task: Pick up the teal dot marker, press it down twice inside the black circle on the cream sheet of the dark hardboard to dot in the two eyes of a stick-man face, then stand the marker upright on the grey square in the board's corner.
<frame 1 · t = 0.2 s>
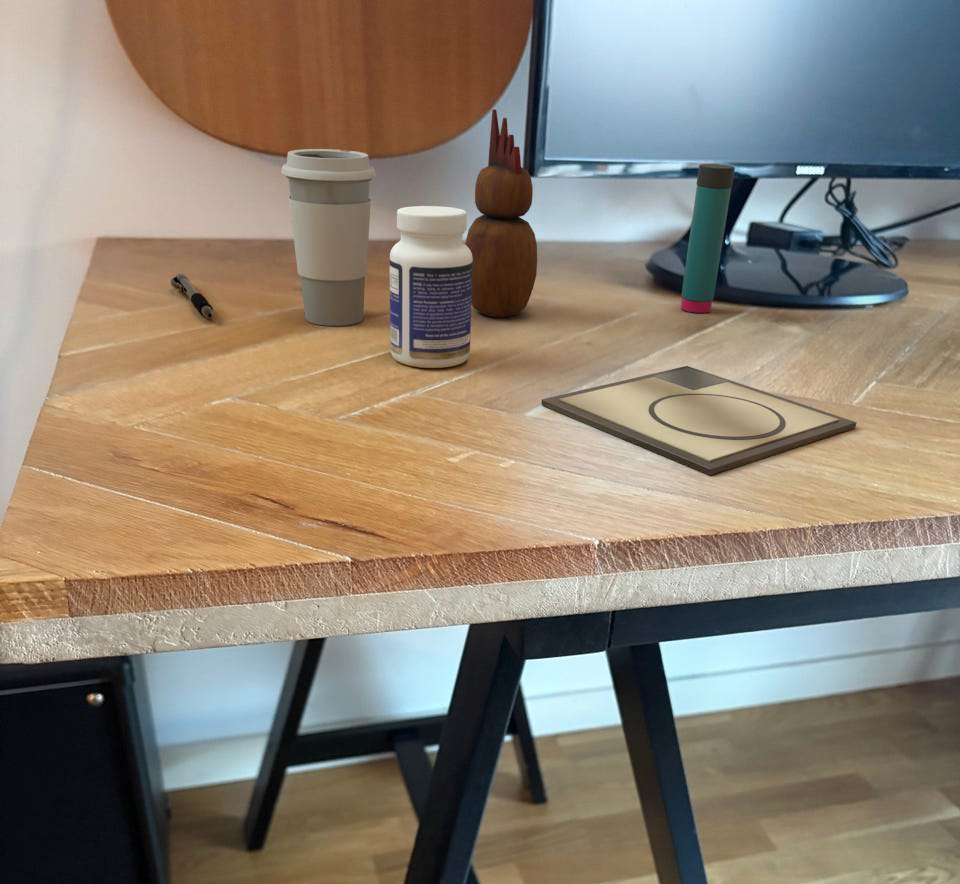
dot marker: (695, 309, 87), on the table
pen: (191, 304, 82), on the table
cup: (334, 321, 80), on the table
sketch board: (696, 416, 63), on the table
wooden figurine: (497, 314, 84), on the table
pill bottle: (430, 361, 72), on the table
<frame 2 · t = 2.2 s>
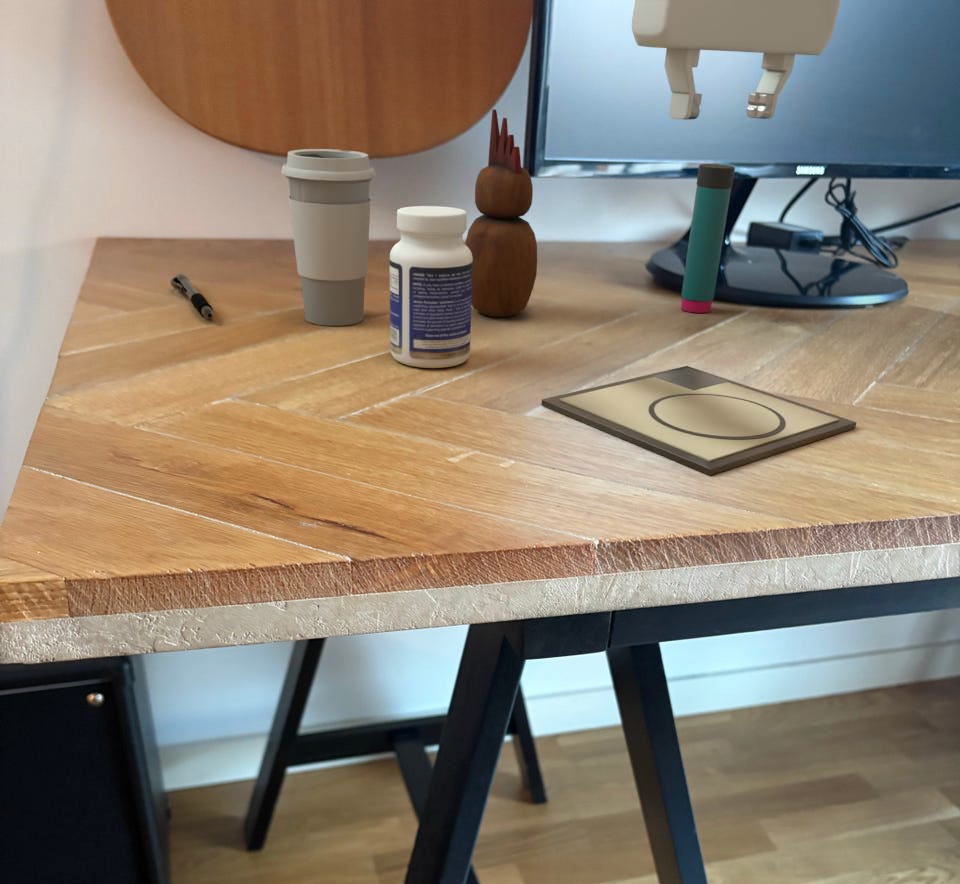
hand: (722, 118, 79), 15 cm above the table, tool pointing down, fingers open, 8 cm apart
nothing on the table moved.
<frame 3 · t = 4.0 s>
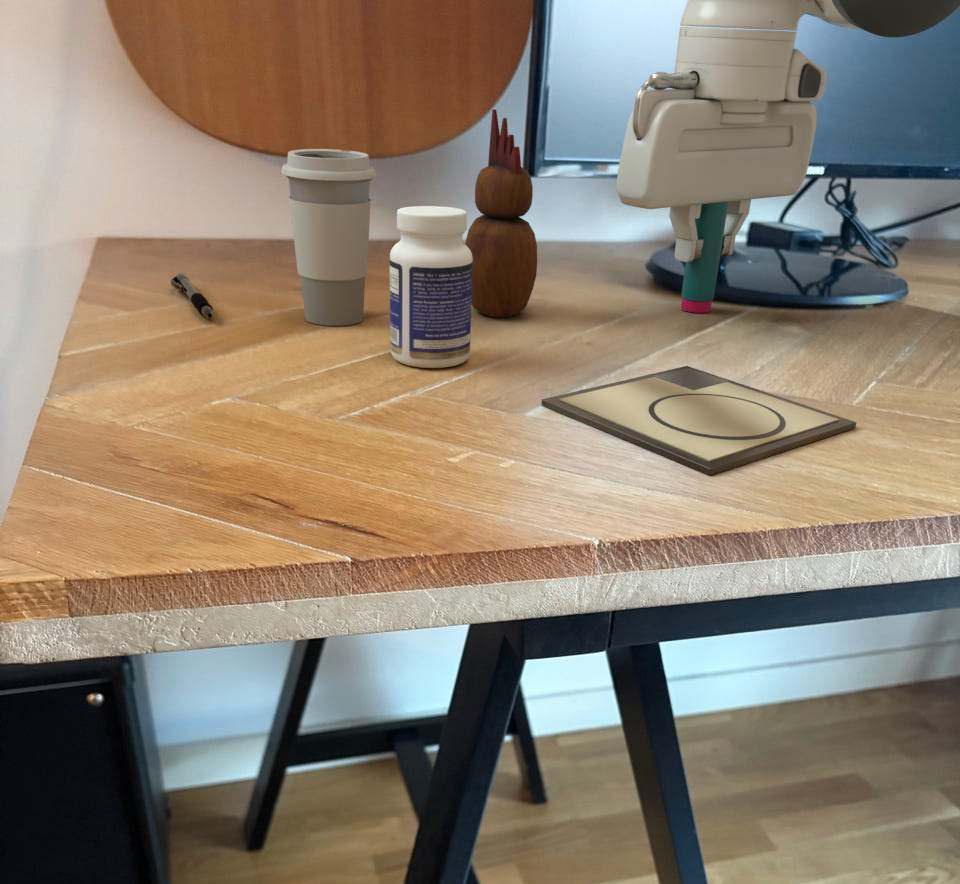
hand: (703, 258, 85), 4 cm above the table, tool pointing down, fingers closed on dot marker, 3 cm apart
dot marker: (695, 309, 87), on the table, touching gripper
everything else where it was.
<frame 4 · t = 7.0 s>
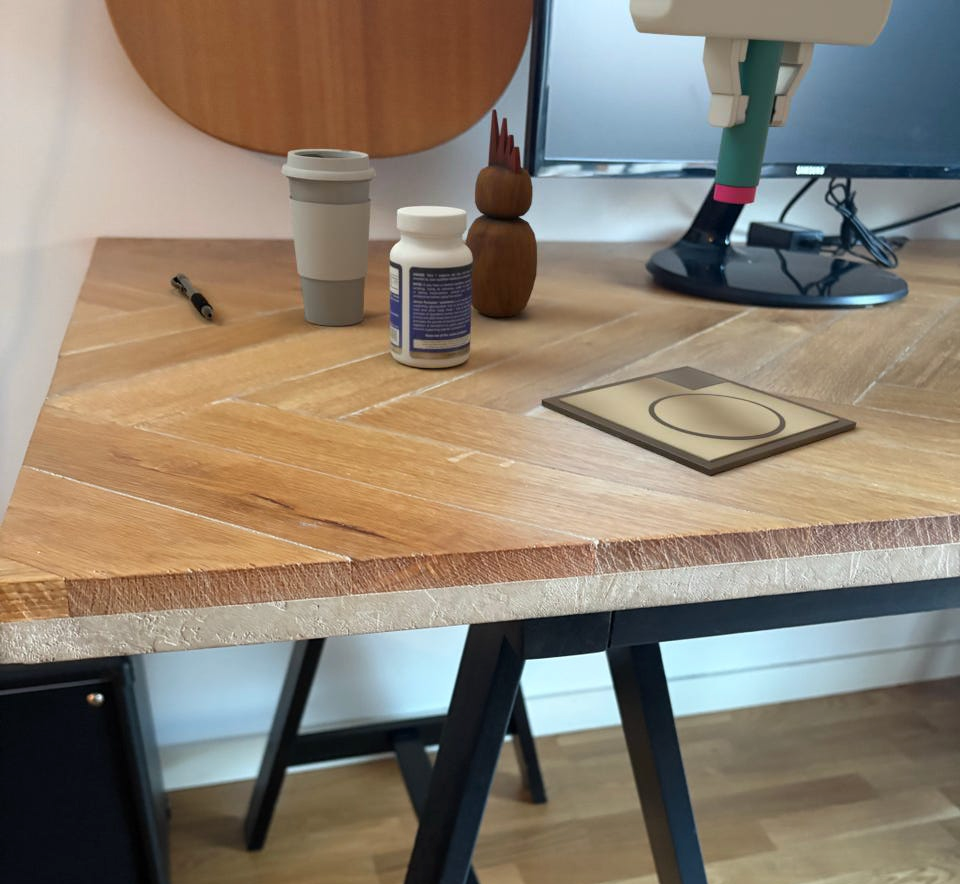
hand: (747, 126, 62), 16 cm above the table, tool pointing down, fingers closed on dot marker, 3 cm apart
dot marker: (733, 200, 65), point 12 cm above the table, touching gripper
everything else where it was.
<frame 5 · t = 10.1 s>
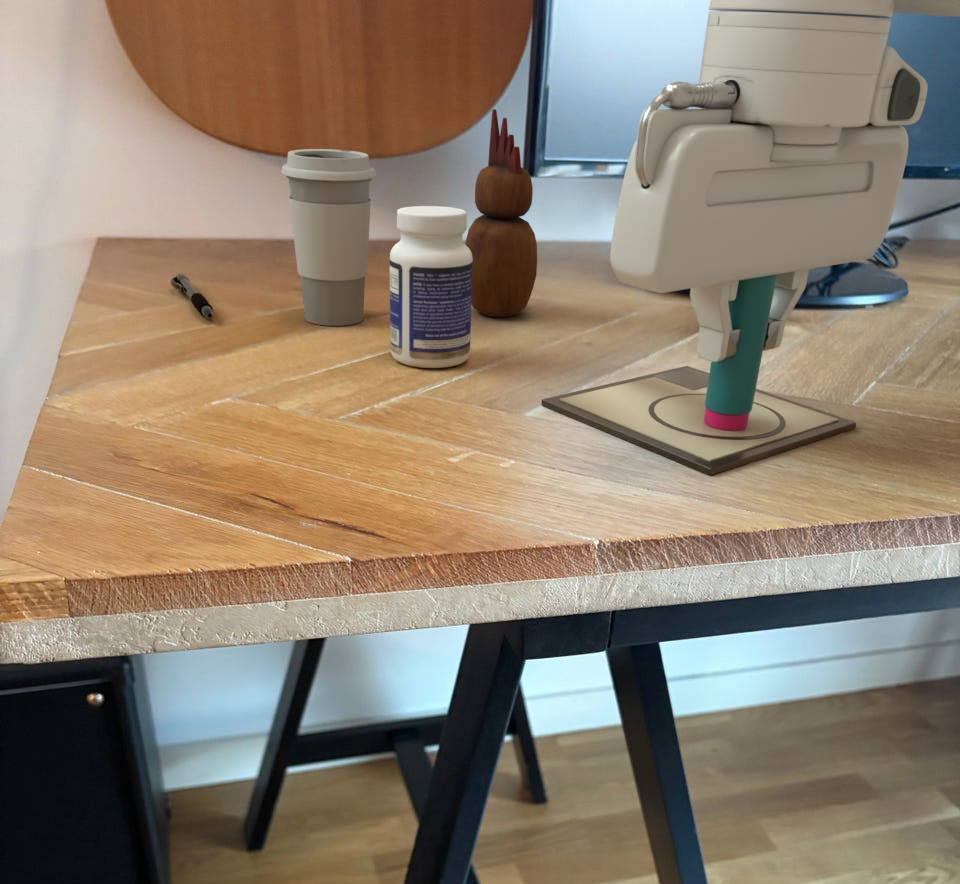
hand: (738, 353, 58), 5 cm above the table, tool pointing down, fingers closed on dot marker, 3 cm apart
dot marker: (725, 423, 60), point 1 cm above the table, touching gripper, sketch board
everything else where it was.
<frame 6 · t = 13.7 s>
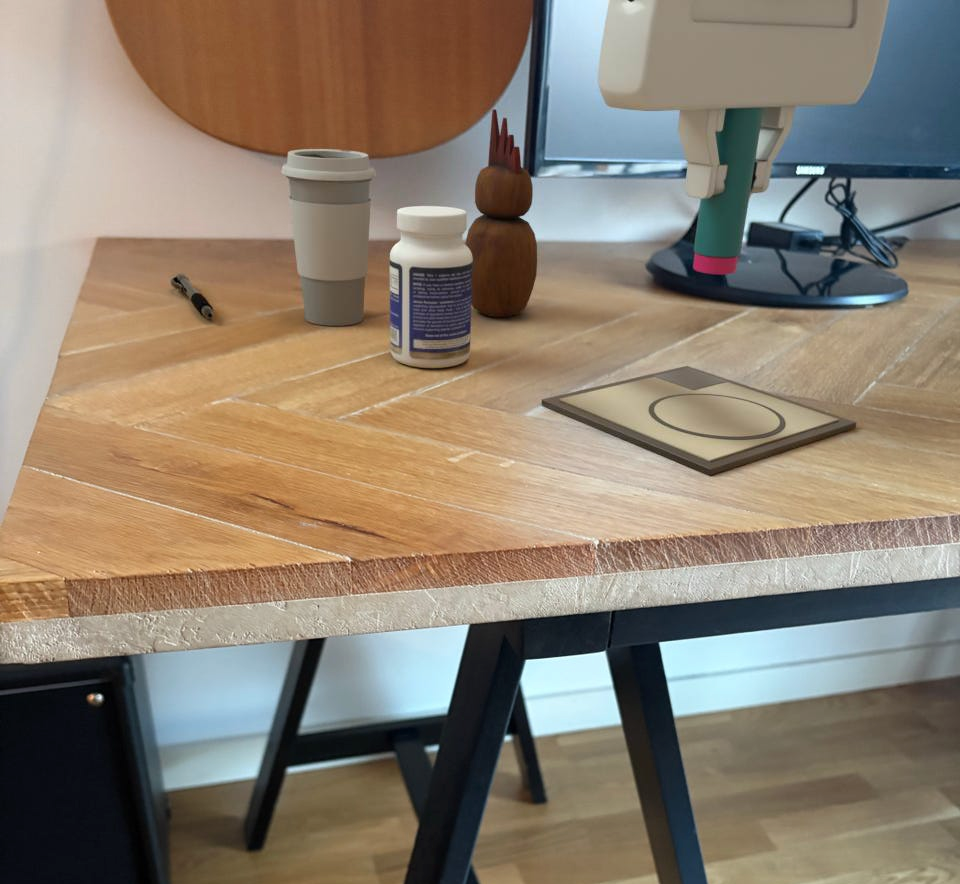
hand: (726, 194, 59), 13 cm above the table, tool pointing down, fingers closed on dot marker, 3 cm apart
dot marker: (714, 270, 61), point 8 cm above the table, touching gripper
everything else where it was.
when the fingers open (5 cm above the table, at t = 16.2 s): dot marker stays where it is, resting on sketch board.
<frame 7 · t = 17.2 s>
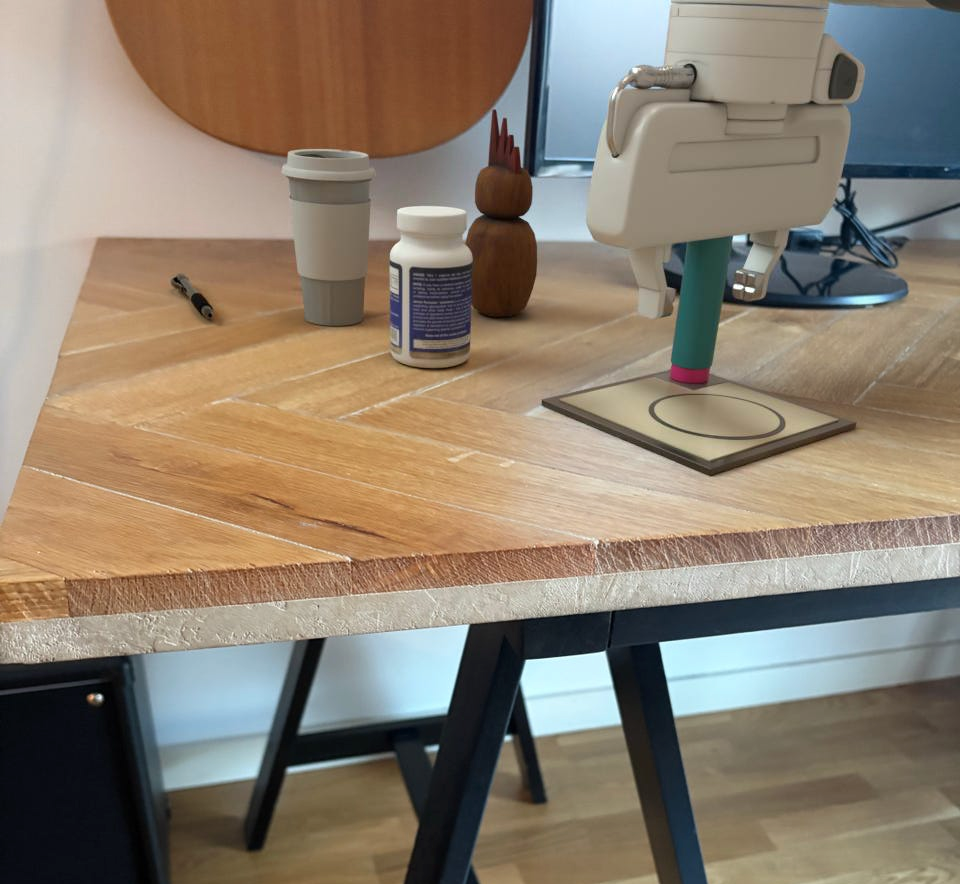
hand: (702, 307, 66), 5 cm above the table, tool pointing down, fingers open, 8 cm apart
dot marker: (688, 378, 68), point 1 cm above the table, touching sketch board
everything else where it was.
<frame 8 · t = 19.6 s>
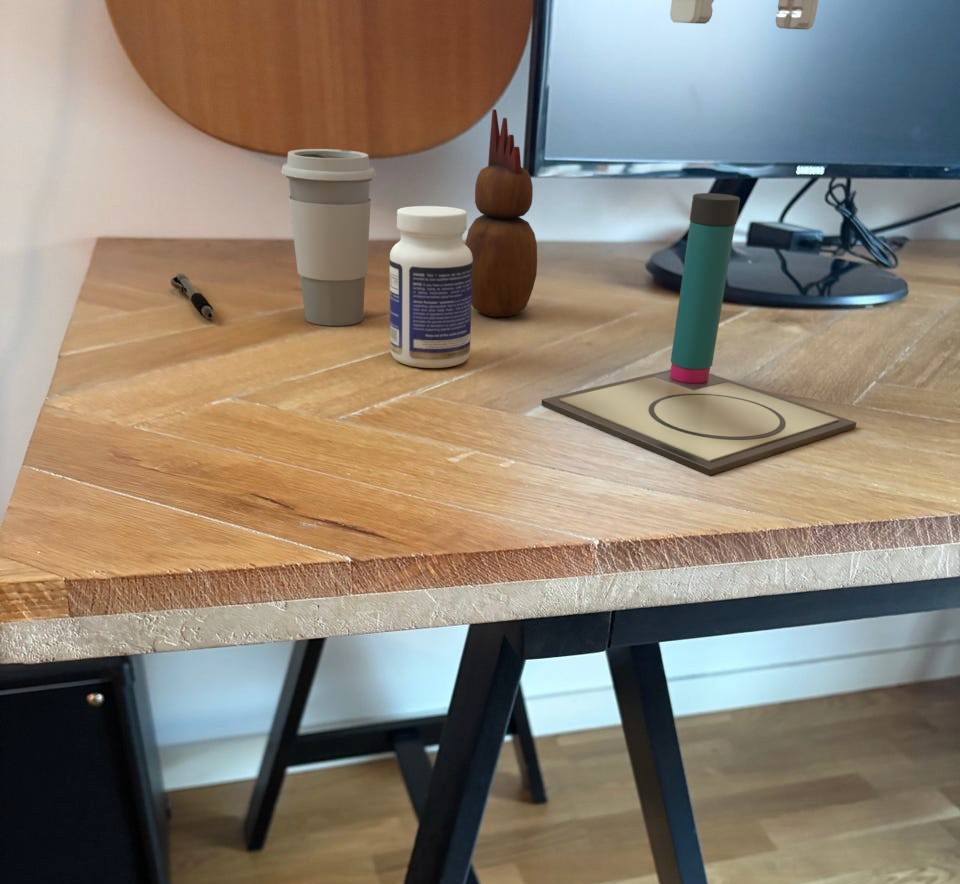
hand: (743, 26, 57), 21 cm above the table, tool pointing down, fingers open, 8 cm apart
nothing on the table moved.
at the end: dot marker 0.1 cm from the target spot on the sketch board, point 0.5 cm above the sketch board's base; dot marker tilted 0°; the gripper is holding nothing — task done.
